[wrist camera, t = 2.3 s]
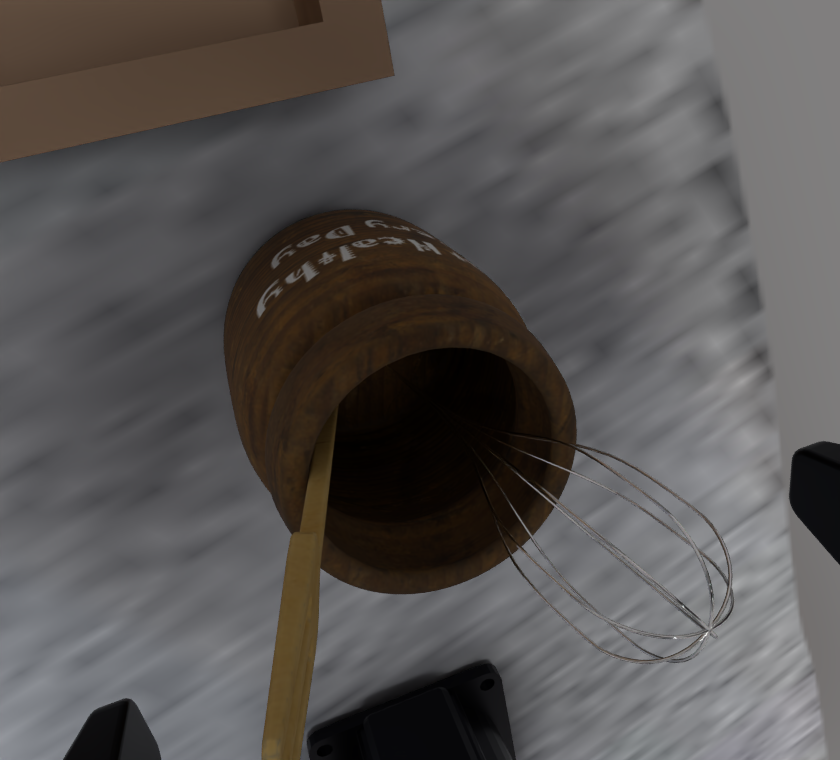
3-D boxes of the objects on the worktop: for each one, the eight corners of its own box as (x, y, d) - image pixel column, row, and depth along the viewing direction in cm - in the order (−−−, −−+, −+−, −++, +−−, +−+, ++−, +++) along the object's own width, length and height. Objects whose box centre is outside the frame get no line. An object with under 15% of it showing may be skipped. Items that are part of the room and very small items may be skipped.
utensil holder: (453, 420, 20) (775, 841, 9) (214, 445, 18) (277, 1010, 7) (470, 200, 17) (933, 433, 7) (194, 202, 15) (248, 527, 5)
